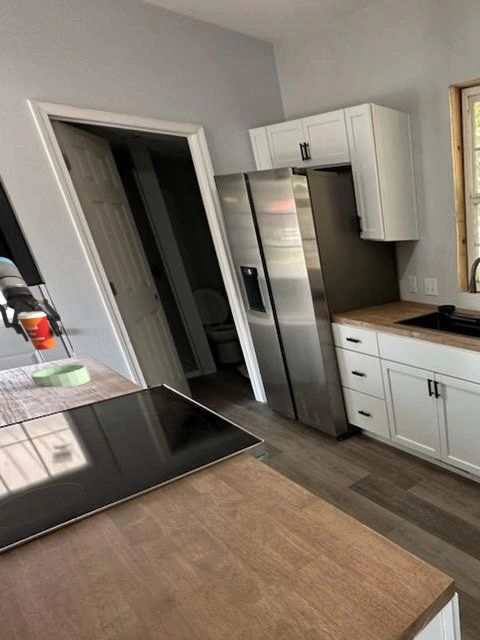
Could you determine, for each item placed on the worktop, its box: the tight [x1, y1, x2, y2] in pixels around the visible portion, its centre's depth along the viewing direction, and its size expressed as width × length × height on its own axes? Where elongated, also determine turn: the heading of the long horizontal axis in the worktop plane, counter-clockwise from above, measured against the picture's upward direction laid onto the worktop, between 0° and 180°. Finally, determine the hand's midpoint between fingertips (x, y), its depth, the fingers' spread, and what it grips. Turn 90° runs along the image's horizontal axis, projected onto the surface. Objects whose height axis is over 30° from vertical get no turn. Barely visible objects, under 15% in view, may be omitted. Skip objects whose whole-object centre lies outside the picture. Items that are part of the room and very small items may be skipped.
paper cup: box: [18, 311, 57, 351], centre depth 161 cm, size 8×8×14 cm
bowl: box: [30, 363, 92, 389], centre depth 155 cm, size 14×14×6 cm
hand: (42, 337), depth 160 cm, fingers closed on paper cup, 8 cm apart
